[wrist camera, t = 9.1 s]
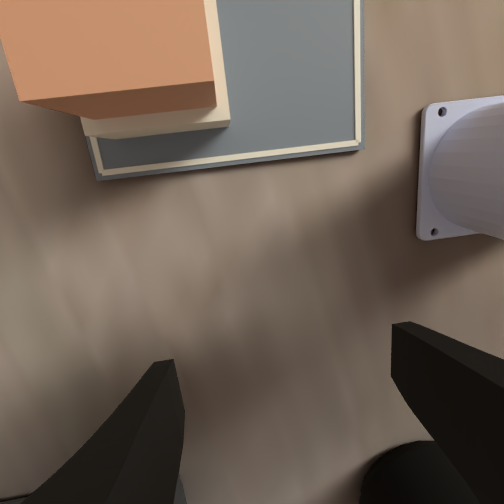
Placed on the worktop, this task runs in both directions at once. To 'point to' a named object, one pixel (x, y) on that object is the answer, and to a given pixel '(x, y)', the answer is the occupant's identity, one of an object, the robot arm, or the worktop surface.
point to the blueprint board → (253, 94)
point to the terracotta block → (109, 55)
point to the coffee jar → (415, 478)
